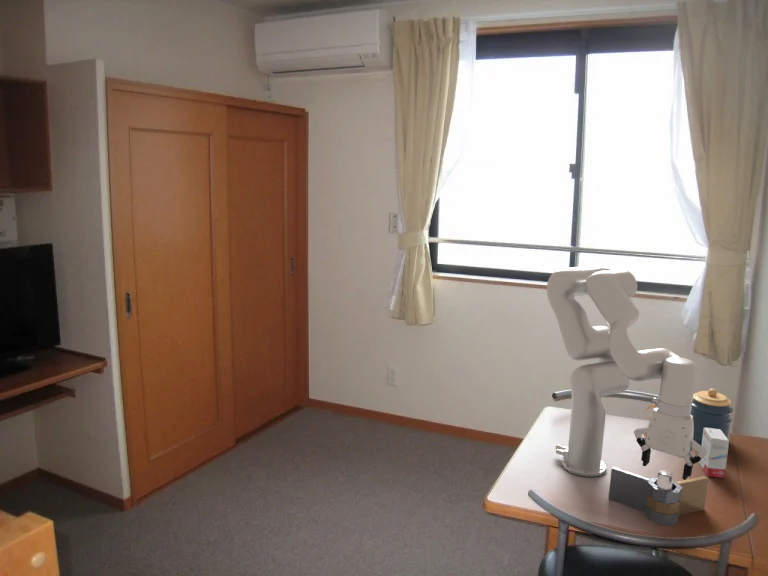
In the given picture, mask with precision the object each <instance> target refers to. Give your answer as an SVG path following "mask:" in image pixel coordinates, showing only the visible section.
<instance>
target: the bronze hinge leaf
mask: <svg viewBox="0 0 768 576" xmlns="http://www.w3.org/2000/svg"><path fill="white" fill-rule="evenodd" d="M674 481H675V480H674ZM675 482H676V483H678V484H679V485H680V486H681V487H682V496H681V499H680V501H679V502H678V503H667V504H665V503H663V502H660V501H657V500H654V499H652V498H651V497H650V495H649V494H648V497H647V506H648V507H649V508H651V509H652V510H653V511H655V512H658V513H662V514H667V515H671V514H676V513H679V516H680V515H686V514H690V513H695V512H699V511H704V510H705V507H706V498H707V493H708V492H707V491H708V487H709V485H708V484H709V477H708V476H707V475H703V476H699V477H698V476H697V477H692V478H687V479H686V480H684V479H682V480H677V481H675ZM679 509H680V512H679Z"/></svg>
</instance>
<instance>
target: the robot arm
mask: <svg viewBox="0 0 768 576" xmlns="http://www.w3.org/2000/svg"><path fill="white" fill-rule="evenodd" d="M637 292H638V281H637V279H636V277H635V276H634V275H633V274H632V273H631V272H630V271H628V270H627V269H623V268H616V267H615V268H614V267H607V266H599V265H594V266H593V265H592V266H591V265H590V266H573V267H572V266H571V267H566V268H565V267H564V268H560V269H558V270H555V271H554V272H552V274H551V275H550V276H549V278H548V280H547V285H546V294H547V295H546V296H547V300H548V302H549V305H550V306H551V309H552V310H553V313H554V315H555V317H556V320H557V324H558V326H559V329H560V330H559V331H560V333H561V336H562V340H563V344H564V347H565V351H566V352H567V355H568V357H569V358H570V359H572V360H573V361H576V362H577V361H580V362H582V361H589V360H590V361H591V360H595V359H596V360H597V361H598V362H593V363H587V364H582V365H580V366H578V367H576V368H575V369H573V371H572V372H571V374H570V381H569V382H570V383H569V384H570V389H571V390H570V391H571V393H570V394H571V409H570V410H571V411H570V421H569V422H570V423H569V435H568V446H564V445H562V444H559V443H557V444H556V445H555V453H556V454H558V455H562V456H563V457H562V459H561V466H562V467H563V469H564V470H566V471H567V470H568V471H567V472H569V473H570V474H573V475H576V476H581V477H584V478H585V477H586V478H588V477H589V478H594V477H595V478H596V477H600V476H602V475H604V474H605V473H607V472H606V471H607V465H606V464H605V462H604V461H603V460H602V456H603V455H602V453H603V448H604V447H603V445H604V436H605V435H604V434H605V424H606V412H607V411H606V407H605V405H604V404H603V402H602V397H606V396H610V395H615V394H620V393H623V392H625V391H627V389H629V387H630V386H629V385H630V382H631V381H634V382H644V381H651V380H657V379H658V380H659V379H660V385H659V392H658V393H659V394H658V397H655V396H654V397H652V400H651V403H653V404H654V405H655V404H656V405H657V407H656V408H654V407H653V410H652V411H651V414H652V415H651V414H650V416H651V418H650V420H649V422H648V425H649V426H648V425H647V426H648V427H647V426H645V427H646V428H645V427H641V428H640V427H639V428H636V429H634V430H633V434H634V438H635V439H636V443H637V444H638V445H639V447H640V450H641V461H642V467H647V465H648V464H649V463H650V460H651V452H652V449H653V450H654V451H658V452H662V453H664V454H668V455H672V456H675V457H678V458H682V459H683V460H684V461H685V464H684V466H683V471H682V480H686V479H688V477H689V478H690V477H691V476H692V473H693V467H694V465H695V464H698V463H699V461H700V460H701V459H702V458H703V457H704V456H705V455H706V454H707V450H706V449H704V448H703V447H702V446H701V445H699V444H698V443H697V442H696V441H694V440H693V435H694V423H693V416H692V415H691V407H692V401H693V394H695V393H694V392H695V386H696V378H697V372H698V368H697V367H698V365H697V364H696V363H695V362H694V361H693V360H691V359H689V358H685V357H682V356H679V355H678V354H677V353H674V351H672V350H670V349H668V348H666V347H665V348H664V347H659V348H649V349H642V350H641V349H640V350H637V349H636V348H635V347H634V345H633V343H632V341H631V340H630V338H629V336H628V329H629V328H630V327H631V326H632V325H634V324H635V323H636V321H638V319H639V317H640V311H639V309H638V307H637V306H636V305H635V303H634V302H633V300H632V297H634V296H635V295H636V294H637ZM579 296H580V297H581V296H583V297H584V296H589V297H590V299H591V300H592V301H593V303H594V305H595V306H596V308H597V310H598V311H599V313H600V314H601V316H602V317H603V319H604V320H605V322H606V323H607V325H608V326H609V327H608V326H605V325H595V326H594V325H593V326H592V325H591V323H590V321H589V318H588V315H587V312H586V310H585V309H584V307H583V305H582V304H580V302H578V300H576V298H575V297H579ZM646 433H647V435H646V437H645V439H644V437H643V434H646ZM693 449H694V451H696V452H697V453H698V454H697V455H695V456H694V455H693V453H692V450H693Z"/></svg>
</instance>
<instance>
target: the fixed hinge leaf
mask: <svg viewBox="0 0 768 576" xmlns="http://www.w3.org/2000/svg"><path fill="white" fill-rule="evenodd" d="M609 481H610V482H609V492H608V500H610V501H613V502H615V503H618V504H621V505H624V506H627V507H629V508H632V509H634V510H638V511H641V512H643V513H644V516H645V517H647V519H648V520H649V521H650V522H652V523H654V524H658V525H660V526H664V527H665V526H675V525H676V524H677V522H679V517H680V515H679V513H676V514H671V515H667V514H662V513H658V512H655V511H653V510H652V509H651V508H649V507H648V506H647V497H648V494H649V495H650V497H651V498H652V499H654V500H657V501H660V502H663V503H665V504H667V503H678V502H679V501H680V499H681V496H682V487H681V486H680V485H679V484H678V483H676V482H675V480H673V484H672V490H664V489H662V488H659V487H657V486H656V484H657V477H652V478H650V477H649V478H648V477H645V476H643V475H640V474H637V473H635V472H631V471H628V470H624V469H621V468H619V467H616V466H612V467H611V470H610V480H609ZM679 512H680V509H679Z"/></svg>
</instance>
